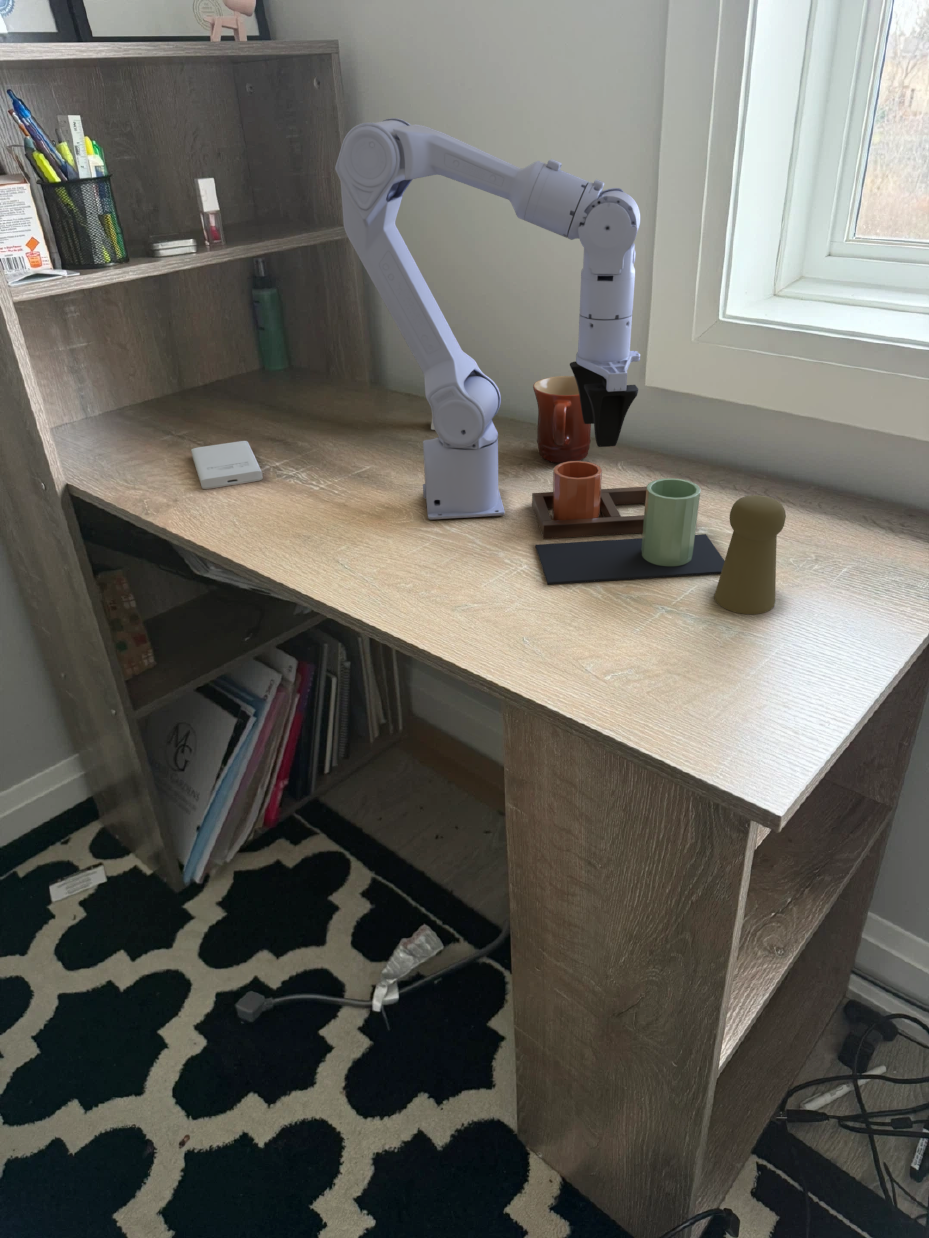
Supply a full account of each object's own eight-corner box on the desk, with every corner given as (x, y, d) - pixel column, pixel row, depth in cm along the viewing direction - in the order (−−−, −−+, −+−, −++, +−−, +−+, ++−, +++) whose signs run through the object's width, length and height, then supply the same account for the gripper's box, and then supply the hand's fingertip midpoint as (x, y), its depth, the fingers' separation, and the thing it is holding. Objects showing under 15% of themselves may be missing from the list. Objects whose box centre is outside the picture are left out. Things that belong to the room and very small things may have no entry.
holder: (543, 539, 105) (543, 525, 104) (531, 506, 113) (532, 492, 112) (691, 530, 106) (692, 516, 105) (669, 498, 114) (670, 484, 113)
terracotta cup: (556, 531, 107) (558, 480, 103) (549, 511, 111) (550, 462, 108) (603, 528, 107) (606, 477, 103) (593, 508, 112) (596, 459, 108)
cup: (648, 568, 98) (654, 500, 93) (635, 545, 102) (641, 479, 98) (698, 565, 98) (707, 497, 94) (684, 542, 103) (691, 476, 98)
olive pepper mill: (739, 619, 89) (755, 518, 83) (702, 592, 93) (714, 494, 88) (787, 605, 91) (806, 506, 85) (749, 579, 95) (764, 483, 90)
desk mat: (547, 584, 96) (547, 582, 95) (535, 546, 103) (535, 544, 103) (731, 573, 97) (731, 570, 97) (705, 536, 104) (706, 534, 104)
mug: (536, 444, 131) (537, 374, 126) (596, 447, 130) (600, 376, 124) (524, 476, 121) (525, 402, 116) (589, 479, 120) (593, 404, 114)
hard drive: (249, 450, 132) (263, 480, 122) (192, 459, 130) (202, 490, 120) (247, 440, 132) (261, 469, 122) (190, 448, 129) (199, 478, 119)
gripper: (659, 328, 92) (648, 454, 99) (626, 298, 104) (619, 411, 111) (591, 332, 91) (585, 458, 98) (566, 300, 104) (562, 415, 111)
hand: (599, 434), depth 105 cm, fingers open, 7 cm apart
